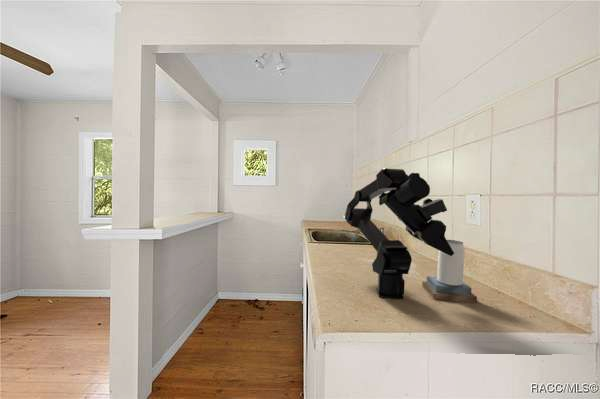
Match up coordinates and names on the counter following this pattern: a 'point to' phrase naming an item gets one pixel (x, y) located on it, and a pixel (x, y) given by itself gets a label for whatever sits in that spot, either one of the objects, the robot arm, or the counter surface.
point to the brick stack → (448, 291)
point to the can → (451, 265)
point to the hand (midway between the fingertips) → (446, 251)
